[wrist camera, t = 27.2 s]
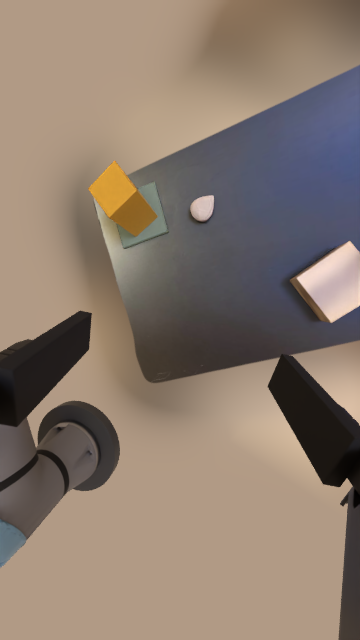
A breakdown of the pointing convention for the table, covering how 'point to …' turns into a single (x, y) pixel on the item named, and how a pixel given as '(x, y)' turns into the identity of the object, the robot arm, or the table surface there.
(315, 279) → the birch block
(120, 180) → the yellow block
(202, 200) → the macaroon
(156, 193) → the coaster
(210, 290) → the table surface
